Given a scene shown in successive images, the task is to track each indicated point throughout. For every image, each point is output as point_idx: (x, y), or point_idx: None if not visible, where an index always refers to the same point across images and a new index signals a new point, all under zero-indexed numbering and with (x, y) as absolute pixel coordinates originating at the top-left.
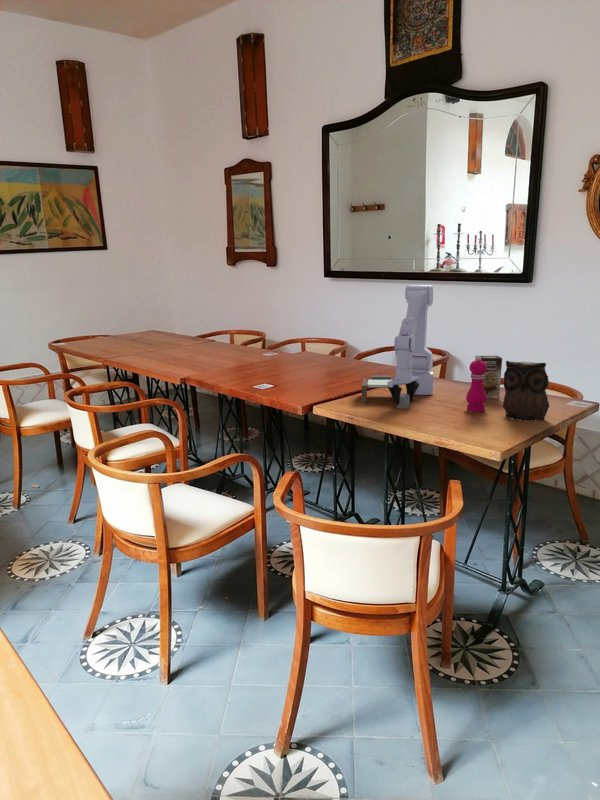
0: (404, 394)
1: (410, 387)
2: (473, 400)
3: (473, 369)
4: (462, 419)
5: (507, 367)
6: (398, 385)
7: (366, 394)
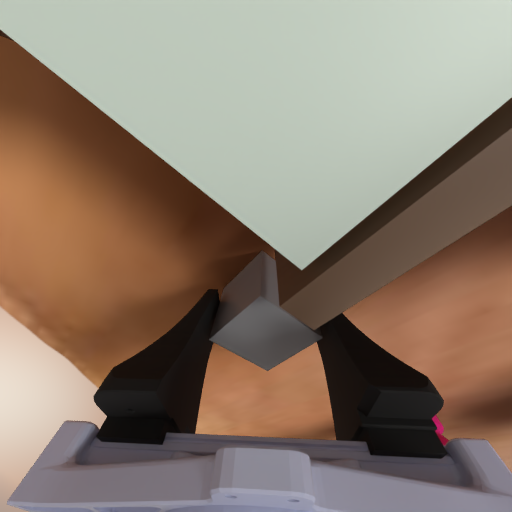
0: (283, 333)
1: (340, 391)
2: None
3: None
4: (296, 426)
5: None
6: (322, 315)
7: None
